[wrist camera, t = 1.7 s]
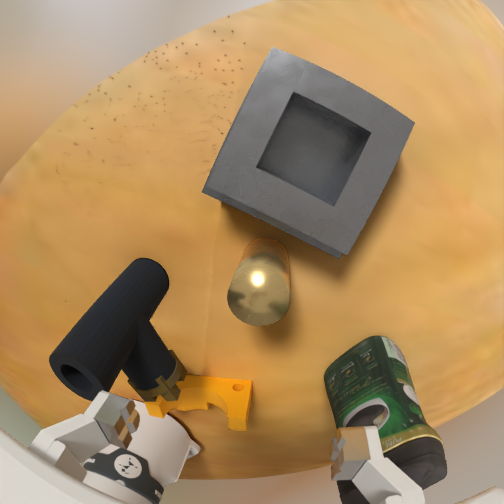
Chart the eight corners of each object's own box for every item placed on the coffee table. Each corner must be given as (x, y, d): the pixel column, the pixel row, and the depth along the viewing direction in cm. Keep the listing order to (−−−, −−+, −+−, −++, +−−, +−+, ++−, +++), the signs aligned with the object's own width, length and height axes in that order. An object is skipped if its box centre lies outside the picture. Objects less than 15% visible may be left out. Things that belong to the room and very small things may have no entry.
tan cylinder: (275, 287, 28) (272, 334, 20) (235, 269, 28) (218, 310, 20) (296, 250, 27) (301, 287, 19) (254, 229, 26) (242, 260, 19)
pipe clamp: (168, 390, 35) (152, 423, 29) (162, 369, 34) (144, 402, 28) (252, 401, 34) (246, 438, 28) (252, 379, 33) (245, 418, 27)
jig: (337, 256, 26) (347, 276, 22) (204, 191, 26) (187, 198, 21) (407, 120, 21) (430, 115, 17) (272, 50, 21) (269, 28, 16)
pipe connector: (203, 337, 32) (168, 447, 18) (166, 344, 33) (123, 443, 19) (157, 251, 28) (76, 350, 14) (119, 265, 29) (38, 354, 15)
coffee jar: (350, 398, 32) (368, 521, 15) (313, 370, 31) (320, 514, 14) (410, 356, 29) (462, 478, 12) (378, 321, 28) (437, 465, 11)
